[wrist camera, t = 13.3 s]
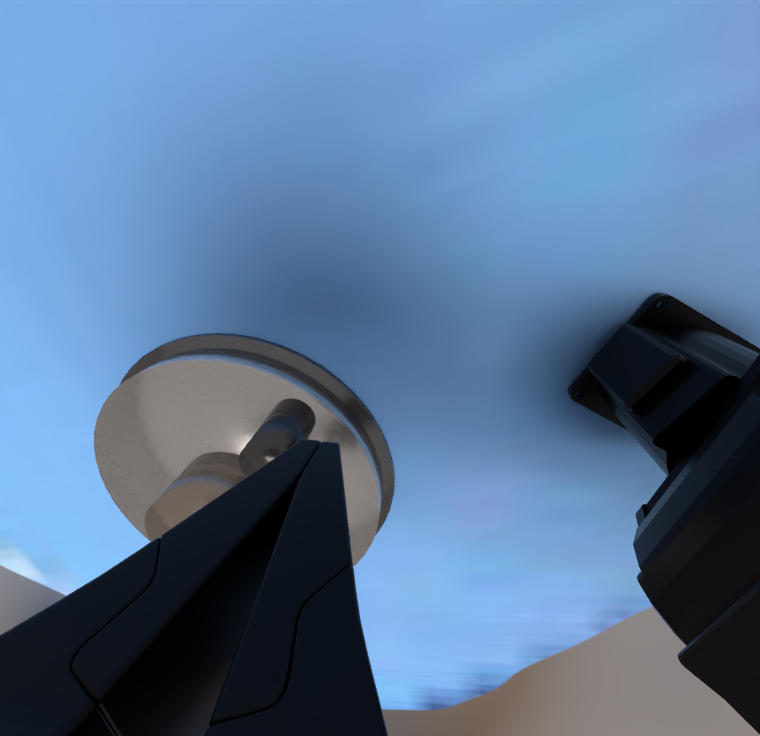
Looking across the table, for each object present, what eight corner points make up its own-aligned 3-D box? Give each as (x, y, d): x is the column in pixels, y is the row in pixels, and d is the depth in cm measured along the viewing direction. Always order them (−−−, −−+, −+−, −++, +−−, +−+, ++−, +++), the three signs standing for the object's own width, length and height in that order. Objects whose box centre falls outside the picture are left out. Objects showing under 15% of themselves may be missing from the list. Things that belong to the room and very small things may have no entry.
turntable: (389, 574, 27) (379, 666, 22) (168, 555, 30) (111, 632, 25) (373, 346, 19) (351, 403, 14) (73, 348, 22) (-43, 396, 17)
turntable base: (452, 432, 22) (453, 435, 21) (325, 597, 30) (324, 600, 30) (138, 270, 20) (134, 271, 19) (100, 496, 29) (97, 499, 28)
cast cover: (291, 532, 24) (267, 586, 20) (201, 525, 25) (165, 577, 21) (271, 453, 21) (241, 501, 17) (171, 450, 22) (124, 495, 18)
